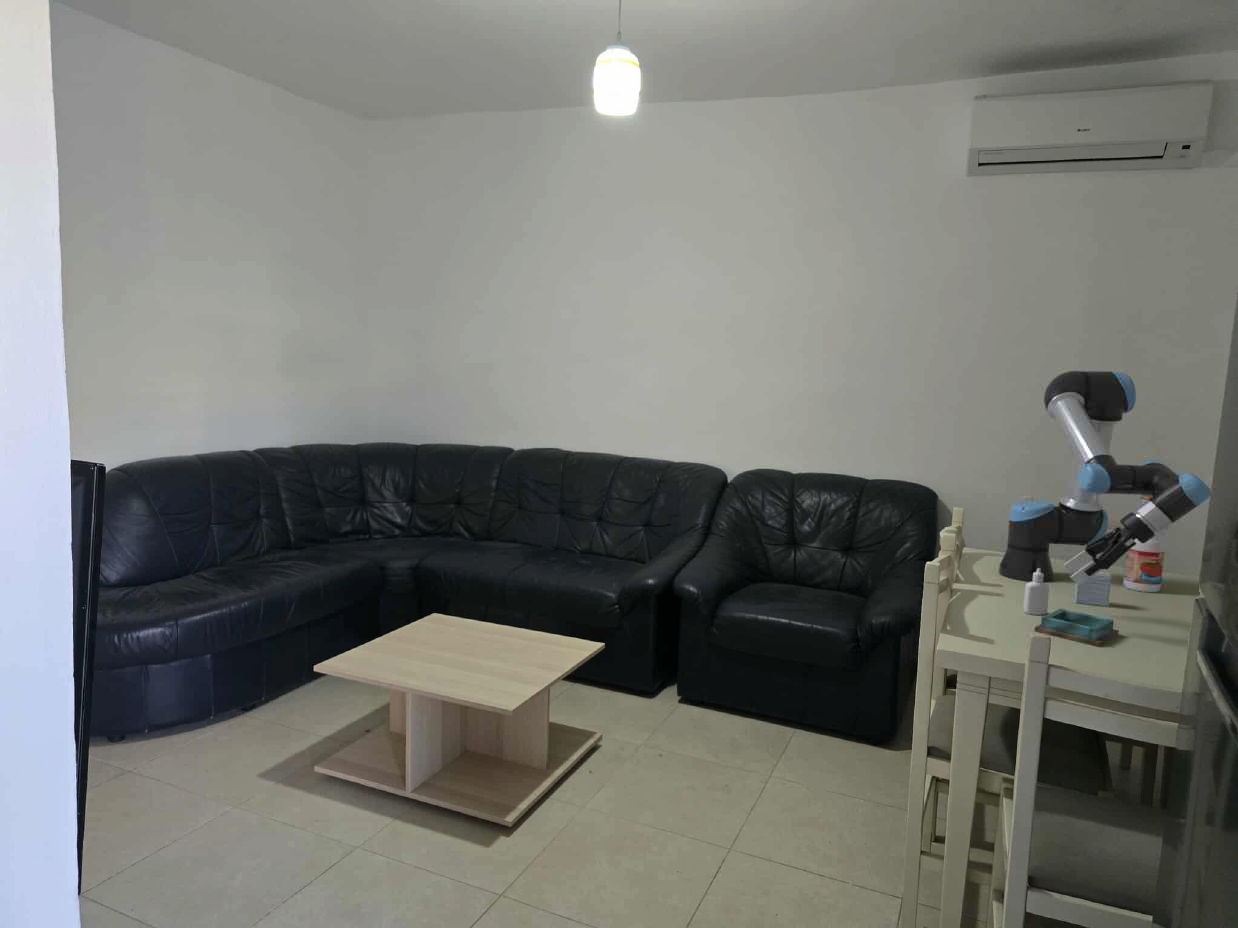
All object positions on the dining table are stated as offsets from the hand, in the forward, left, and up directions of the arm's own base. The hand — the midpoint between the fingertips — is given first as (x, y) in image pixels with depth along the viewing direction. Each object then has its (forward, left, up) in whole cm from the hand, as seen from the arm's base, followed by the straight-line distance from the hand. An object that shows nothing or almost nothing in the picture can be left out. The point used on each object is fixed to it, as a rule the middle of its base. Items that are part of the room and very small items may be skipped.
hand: (1070, 575), depth 204 cm
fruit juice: (+3, +51, -12) cm, 52 cm away
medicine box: (-1, +21, -12) cm, 24 cm away
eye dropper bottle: (-7, -2, -12) cm, 14 cm away
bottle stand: (+6, -11, -11) cm, 17 cm away
